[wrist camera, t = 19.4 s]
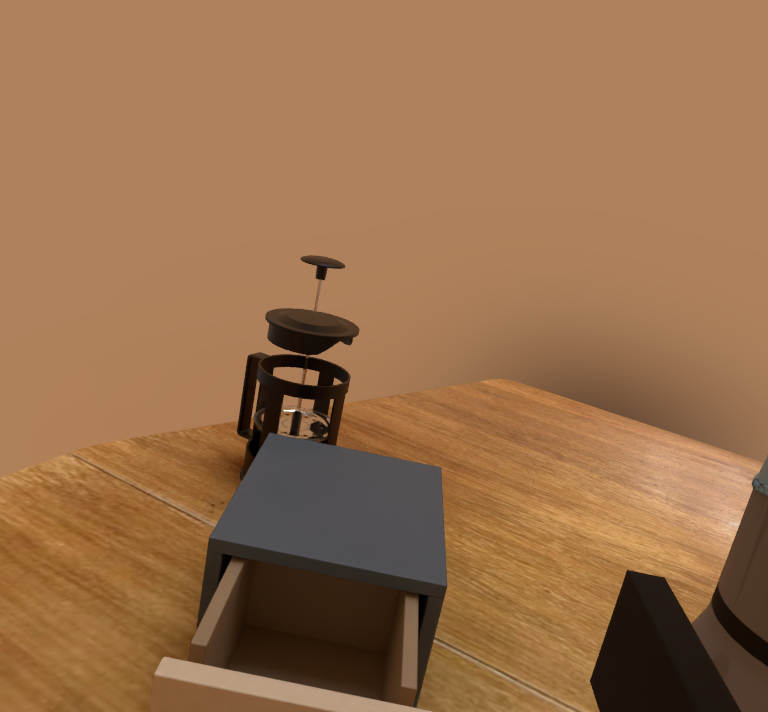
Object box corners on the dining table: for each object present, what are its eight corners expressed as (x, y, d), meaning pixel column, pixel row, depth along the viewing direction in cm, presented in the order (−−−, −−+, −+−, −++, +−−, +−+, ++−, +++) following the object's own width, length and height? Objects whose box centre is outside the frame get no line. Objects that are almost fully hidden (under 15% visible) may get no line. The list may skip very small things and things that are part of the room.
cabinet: (409, 736, 42) (447, 586, 39) (187, 691, 42) (208, 537, 39) (413, 583, 57) (441, 467, 54) (250, 550, 57) (269, 432, 54)
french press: (354, 484, 72) (397, 269, 66) (302, 517, 64) (346, 275, 57) (265, 445, 77) (297, 241, 70) (207, 471, 69) (237, 243, 62)
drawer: (391, 1000, 28) (437, 835, 25) (86, 937, 28) (103, 767, 25) (405, 664, 47) (432, 550, 44) (222, 627, 47) (239, 511, 44)
